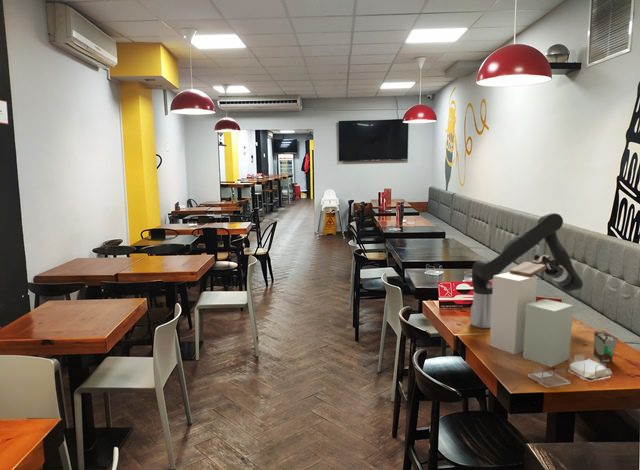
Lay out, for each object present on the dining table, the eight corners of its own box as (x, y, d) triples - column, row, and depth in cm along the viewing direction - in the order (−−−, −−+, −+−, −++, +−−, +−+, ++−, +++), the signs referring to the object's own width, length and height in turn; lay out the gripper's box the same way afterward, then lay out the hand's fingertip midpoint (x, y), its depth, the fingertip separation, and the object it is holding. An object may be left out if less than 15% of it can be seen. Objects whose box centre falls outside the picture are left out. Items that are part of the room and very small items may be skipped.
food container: (620, 366, 186) (622, 342, 184) (603, 365, 187) (605, 341, 185) (608, 354, 198) (610, 331, 196) (592, 353, 199) (594, 330, 197)
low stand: (522, 357, 195) (526, 304, 191) (541, 349, 202) (544, 298, 199) (550, 367, 185) (554, 311, 182) (569, 359, 193) (573, 305, 190)
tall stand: (489, 345, 208) (493, 275, 203) (508, 339, 216) (512, 271, 211) (514, 354, 198) (518, 280, 193) (532, 347, 206) (537, 276, 201)
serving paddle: (509, 272, 208) (509, 268, 208) (537, 257, 220) (537, 253, 219) (530, 277, 200) (530, 272, 200) (558, 261, 212) (557, 256, 211)
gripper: (544, 261, 227) (527, 247, 218) (573, 266, 216) (557, 251, 206) (539, 275, 226) (522, 262, 217) (568, 281, 215) (551, 267, 205)
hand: (539, 257), depth 211 cm, fingers closed on serving paddle, 3 cm apart
